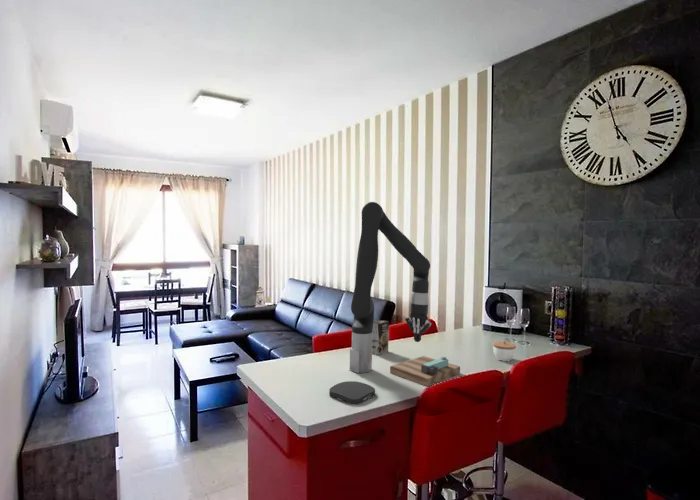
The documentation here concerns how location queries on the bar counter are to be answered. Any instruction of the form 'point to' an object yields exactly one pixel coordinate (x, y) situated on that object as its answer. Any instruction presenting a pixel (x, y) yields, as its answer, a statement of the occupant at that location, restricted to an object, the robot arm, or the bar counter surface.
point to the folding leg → (435, 364)
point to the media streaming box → (352, 392)
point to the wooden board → (414, 373)
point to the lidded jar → (504, 350)
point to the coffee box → (380, 337)
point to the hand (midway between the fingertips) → (417, 341)
